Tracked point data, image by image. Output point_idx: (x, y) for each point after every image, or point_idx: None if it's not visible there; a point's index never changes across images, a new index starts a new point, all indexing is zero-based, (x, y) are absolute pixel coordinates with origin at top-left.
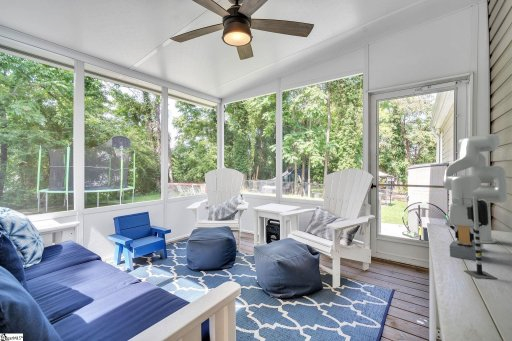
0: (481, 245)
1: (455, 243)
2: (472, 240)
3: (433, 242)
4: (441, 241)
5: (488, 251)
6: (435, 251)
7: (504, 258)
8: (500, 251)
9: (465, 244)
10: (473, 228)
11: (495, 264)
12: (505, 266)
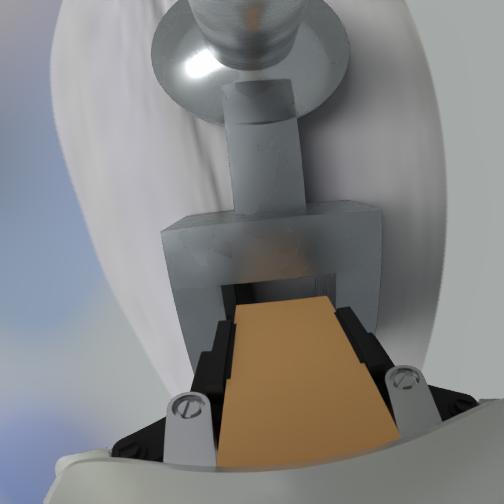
0: (345, 64)
1: (205, 308)
2: (288, 42)
3: (53, 79)
4: (86, 20)
5: (356, 54)
6: (119, 300)
7: (437, 178)
8: (394, 26)
9: (278, 279)
10: (431, 419)
11: (401, 333)
12: (427, 331)
